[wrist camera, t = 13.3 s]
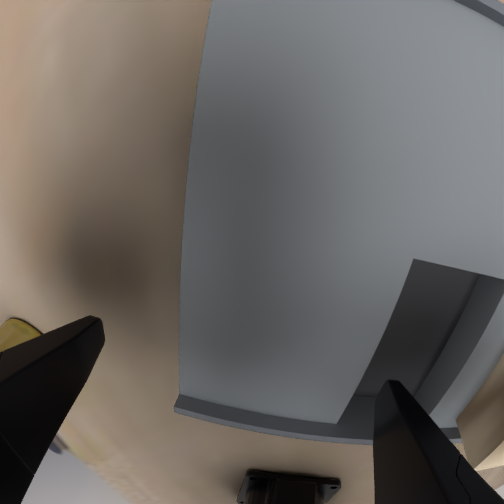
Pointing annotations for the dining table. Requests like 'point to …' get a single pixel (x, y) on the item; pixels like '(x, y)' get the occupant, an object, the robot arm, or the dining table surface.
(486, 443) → the beech block
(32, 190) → the dining table surface
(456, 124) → the box
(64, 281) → the dining table surface
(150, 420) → the dining table surface
